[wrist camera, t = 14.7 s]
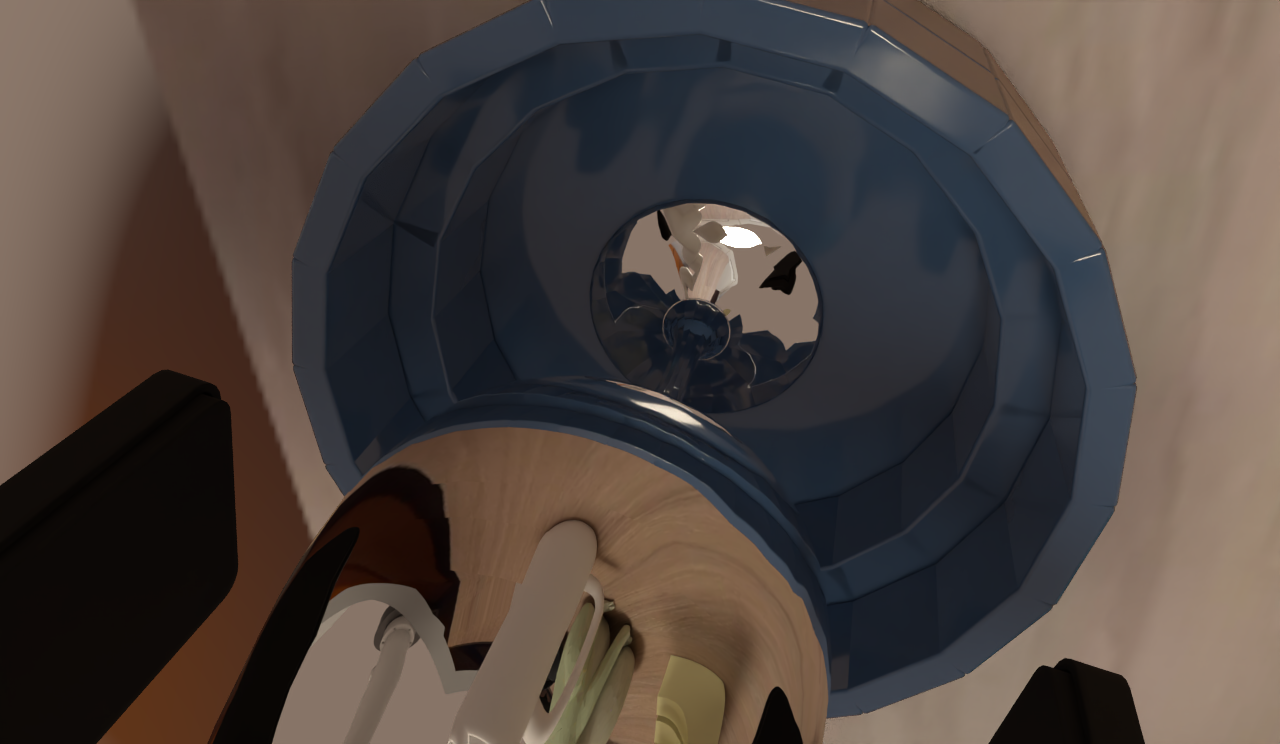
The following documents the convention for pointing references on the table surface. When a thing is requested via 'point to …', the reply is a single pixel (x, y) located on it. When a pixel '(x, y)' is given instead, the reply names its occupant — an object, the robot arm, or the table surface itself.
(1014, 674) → the table surface
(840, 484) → the bowl
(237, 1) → the table surface
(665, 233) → the wineglass
